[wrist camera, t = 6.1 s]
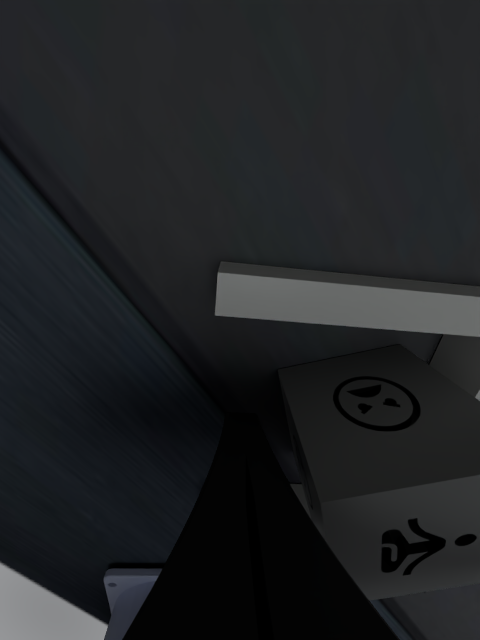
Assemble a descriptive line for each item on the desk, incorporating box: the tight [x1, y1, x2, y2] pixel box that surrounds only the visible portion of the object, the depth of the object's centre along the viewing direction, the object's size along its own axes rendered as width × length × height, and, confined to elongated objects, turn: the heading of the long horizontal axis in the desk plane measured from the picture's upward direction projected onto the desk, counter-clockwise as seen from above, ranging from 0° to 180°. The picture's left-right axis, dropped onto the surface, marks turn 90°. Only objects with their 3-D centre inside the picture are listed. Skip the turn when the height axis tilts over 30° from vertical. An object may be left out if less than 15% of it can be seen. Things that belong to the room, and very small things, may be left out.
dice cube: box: [278, 344, 480, 600], centre depth 8 cm, size 5×5×5 cm
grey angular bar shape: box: [215, 261, 480, 520], centre depth 10 cm, size 12×10×2 cm
